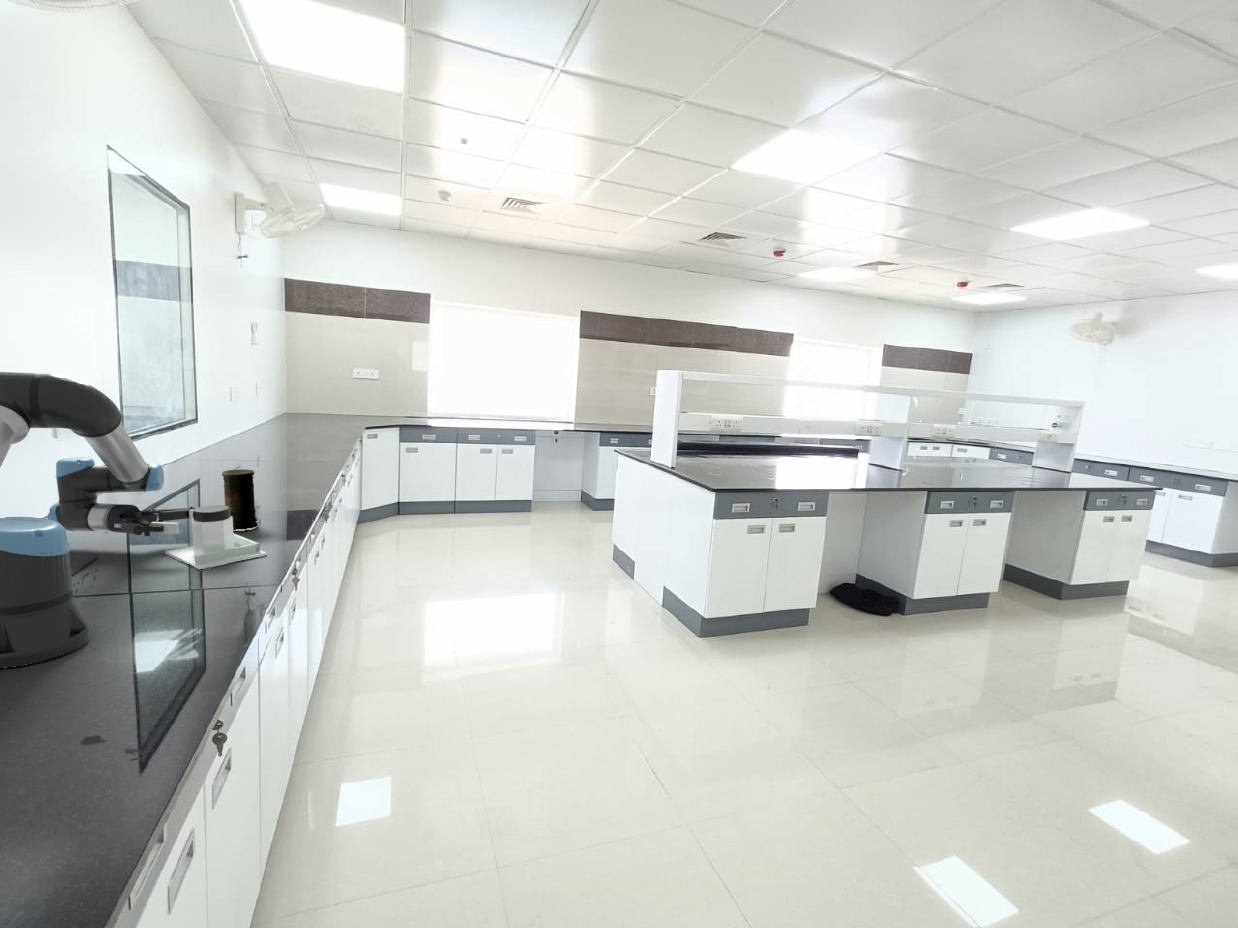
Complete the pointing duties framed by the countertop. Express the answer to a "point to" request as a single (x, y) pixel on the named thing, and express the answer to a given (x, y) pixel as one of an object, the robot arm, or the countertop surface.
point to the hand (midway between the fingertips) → (196, 521)
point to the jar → (212, 529)
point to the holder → (216, 553)
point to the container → (240, 497)
